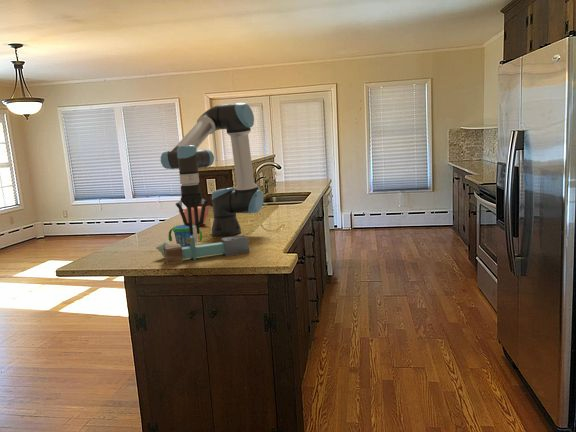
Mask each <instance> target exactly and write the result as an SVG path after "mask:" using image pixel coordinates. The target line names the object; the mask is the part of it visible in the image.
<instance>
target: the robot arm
mask: <svg viewBox="0 0 576 432" xmlns="http://www.w3.org/2000/svg"><path fill="white" fill-rule="evenodd" d="M254 124H255V116H254V112H253V110H252V108H251V107H250V105H249V104H247V103H245V102H235V103H234V102H233V103H226V104H218V105H217V104H216V105H215V106H212V107H210V108H209V109H207V110H205V112H203V113H202V114H201V115H200V116H199V117H198V119H197V120H196V123H195V125H193V127H192V128H191V129H190V130H189V131H188V132H187V133H186V135H184V136H183V138H182V139H181V140H180V141H179V142H178V143H177V145H175V146H174V148H172V149H171V150H168V151H163V152H162V154H161V156H160V163H161V166H162V167H163V168H164V169H166V170H175V169H178V170H179V172H178V173H179V175H178V176H179V182H180V185H181V186H180V194H181V197H180V199H179V201H178V202H176V203H175V206H176V207H177V209H178V212H179V211H180V213H179V214H181V215H180V217H181V219H182V222H184V223H183V225H185V226H189V231H190V234H191V235H193V238H194V240H195V244H196V243H198V242H199V239H198V234H199V233H200V232H199V229H200V226H202V225H201V224H203V225H204V223H203V221H204V215H205V210H206V207H207V206H208V203H209V202H208V199H204V198H203V197H202V195H201V185H200V184H199V183H200V177H199V176H200V175H199V169H203V168H208V167H210V166H212V165H213V164H214V162H215V161H214V160H215V156H214V153H213V152H212V151H211V150H209V149H205V148H202V149H201V148H200V149H198V148H199V147H200V146H201V144H203V142H204V141H205V140H206V139H207V137H209V135H213V133H215V132H216V131H220V130H226V134H227V135H228V136H229V137H230V143H231V148H232V157H233V164H234V171H235V172H234V173H235V180H236V186H235V187H227V188H219V189H216V190H213V191H212V193H211V203H212V212H213V213H212V214H213V222H212V225H211V229H210V230H211V235H213V236H217V237H218V236H219V237H220V236H221V237H223V236H234V235H237V234H240V233H241V232H242V228H241V225H240V223H239V220H238V217H237V214H256V213H259V212H261V210H262V208H263V205H264V192H263V191H262V189H259V186H258V184H256V183H255V178H254V170H253V163H252V156H251V155H252V154H251V145H250V138H249V134H250V132H251V130H252V129H251V128H252V127H254ZM200 204H201V206H200V207H201V214H200V220H199V219H198V207H199V205H200ZM183 205H184V206H185V207H186V208H187V212H188V223H187V220H186V217H185V214H184V211H183V209H184V208H183ZM192 207H193V209H194V218H195V226H193V224H192V213H191V208H192ZM199 225H200V226H199ZM199 235H200V234H199Z"/></svg>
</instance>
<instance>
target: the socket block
mask: <svg viewBox="0 0 576 432" xmlns="http://www.w3.org/2000/svg"><path fill="white" fill-rule="evenodd" d="M164 247H165V256H166V257H165V262H166V263H167V265H174V264H175V265H176V264H182V263H184V259H183V256H182V247H181V245H180V244H177V243H174V244H171V245H165V246H164Z"/></svg>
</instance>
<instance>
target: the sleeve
mask: <svg viewBox="0 0 576 432" xmlns="http://www.w3.org/2000/svg"><path fill="white" fill-rule="evenodd" d="M220 240H221V241H220V242H224V243H225V253H223V254H222V255H224V256H225V257H229V256H236V255H237V254H238V255H243V254H242V253H245V254H249V253H250V244H249V243H250V242H249V237H247V236H246V235H235V236H227V237H221V238H220ZM238 255H237V256H238Z"/></svg>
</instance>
